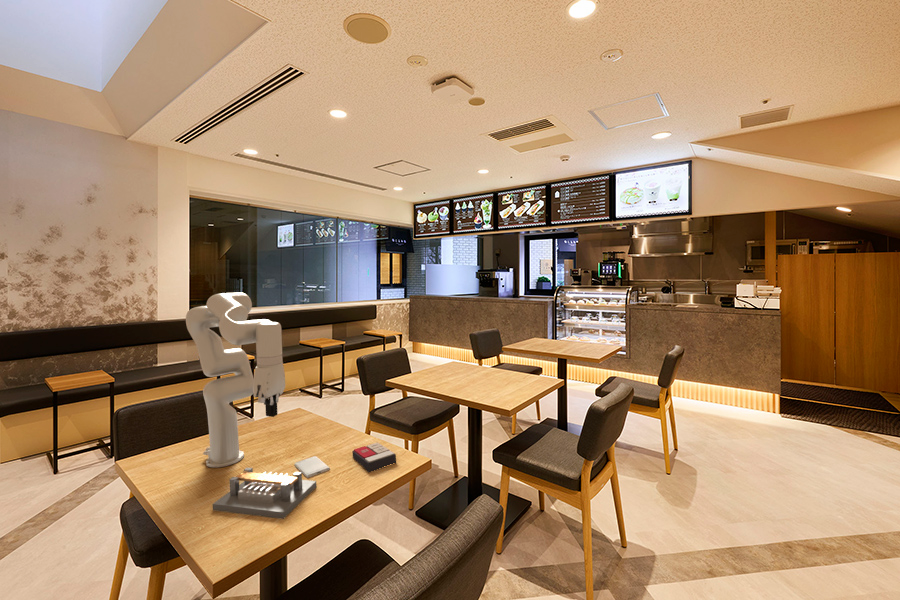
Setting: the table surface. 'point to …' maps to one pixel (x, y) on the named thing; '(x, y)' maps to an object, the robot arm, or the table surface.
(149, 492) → the table surface
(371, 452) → the calculator
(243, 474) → the retention strap
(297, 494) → the grey mounting plate
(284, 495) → the heat sink
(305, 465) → the hard drive
